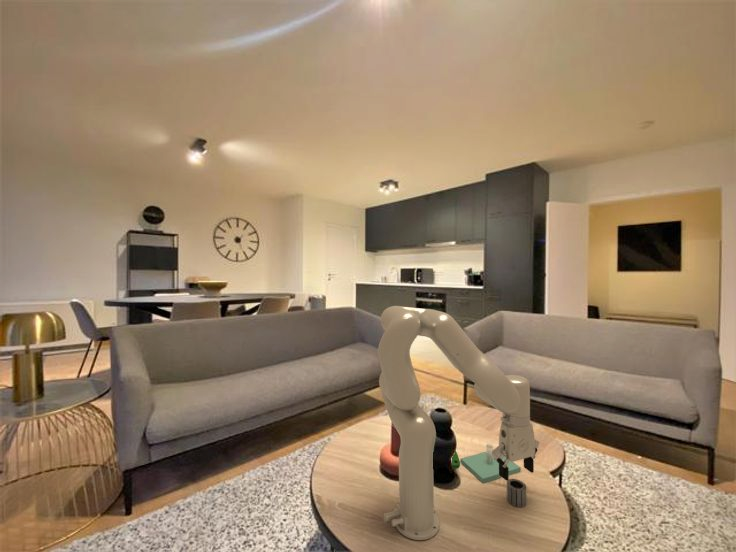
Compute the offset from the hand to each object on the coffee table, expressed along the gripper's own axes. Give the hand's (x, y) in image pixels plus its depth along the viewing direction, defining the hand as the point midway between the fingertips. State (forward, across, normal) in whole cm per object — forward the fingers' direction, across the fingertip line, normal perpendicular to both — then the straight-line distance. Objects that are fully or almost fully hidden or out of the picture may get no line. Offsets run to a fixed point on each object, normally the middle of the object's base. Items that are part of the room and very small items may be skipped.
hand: (516, 473), depth 96 cm
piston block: (+8, +4, +16) cm, 18 cm away
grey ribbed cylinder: (+8, 0, 0) cm, 8 cm away
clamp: (+9, -13, +20) cm, 25 cm away
